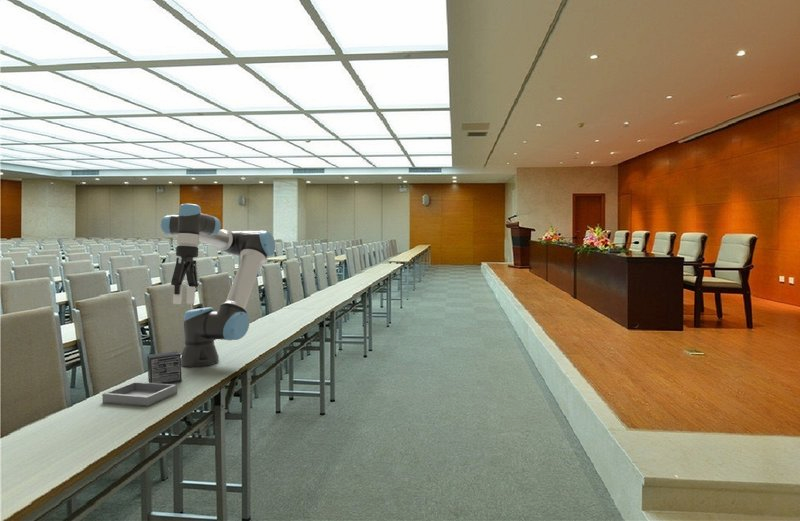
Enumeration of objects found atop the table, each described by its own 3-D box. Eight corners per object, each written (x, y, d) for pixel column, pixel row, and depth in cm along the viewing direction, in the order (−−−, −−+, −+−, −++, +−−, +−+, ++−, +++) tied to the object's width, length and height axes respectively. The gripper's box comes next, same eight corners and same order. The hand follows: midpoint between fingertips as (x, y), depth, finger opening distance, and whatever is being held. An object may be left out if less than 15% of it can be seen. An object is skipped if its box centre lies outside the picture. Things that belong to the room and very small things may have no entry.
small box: (178, 377, 193) (177, 350, 193) (182, 381, 188) (181, 353, 187) (147, 382, 187) (146, 354, 187) (150, 386, 182) (149, 357, 181)
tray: (134, 390, 178) (134, 381, 177) (177, 393, 174) (176, 384, 173) (102, 402, 164) (102, 393, 164) (147, 406, 160) (147, 397, 160)
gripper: (188, 249, 199) (185, 303, 197) (163, 241, 174) (159, 303, 173) (208, 249, 200) (205, 304, 198) (186, 242, 175) (182, 304, 173)
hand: (183, 304), depth 185 cm, fingers open, 13 cm apart
